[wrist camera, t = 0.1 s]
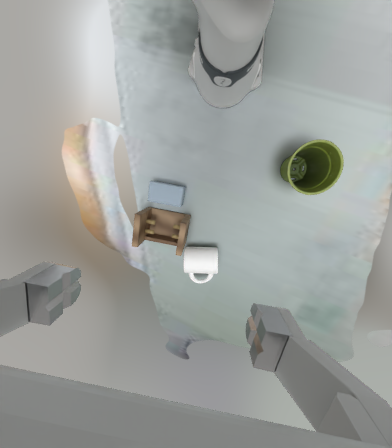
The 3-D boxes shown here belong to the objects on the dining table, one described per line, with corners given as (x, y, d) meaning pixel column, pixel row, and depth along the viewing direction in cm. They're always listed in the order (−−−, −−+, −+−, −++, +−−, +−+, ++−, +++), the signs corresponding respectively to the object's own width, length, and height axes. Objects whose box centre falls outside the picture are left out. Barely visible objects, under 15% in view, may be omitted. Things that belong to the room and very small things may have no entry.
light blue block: (155, 180, 55) (150, 181, 50) (185, 186, 54) (183, 187, 50) (153, 198, 56) (147, 200, 51) (182, 204, 56) (180, 207, 51)
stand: (148, 206, 57) (134, 213, 46) (190, 215, 56) (186, 224, 46) (145, 233, 59) (131, 246, 48) (186, 241, 59) (181, 255, 48)
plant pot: (264, 162, 51) (279, 159, 40) (304, 138, 49) (331, 127, 38) (281, 198, 53) (300, 204, 42) (321, 177, 51) (351, 177, 40)
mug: (186, 242, 59) (183, 252, 51) (217, 243, 58) (218, 253, 51) (187, 275, 62) (184, 289, 54) (216, 276, 61) (217, 291, 54)
